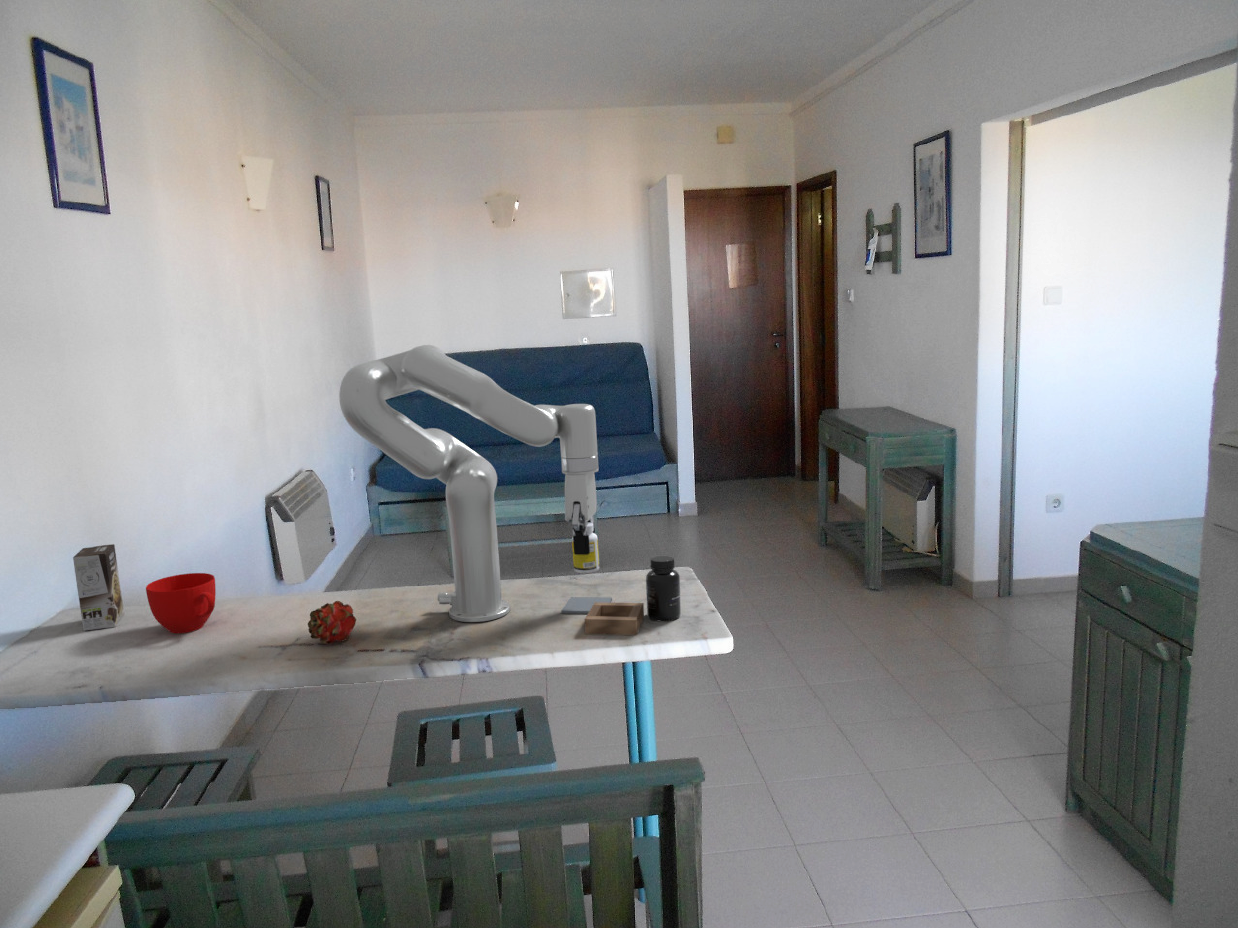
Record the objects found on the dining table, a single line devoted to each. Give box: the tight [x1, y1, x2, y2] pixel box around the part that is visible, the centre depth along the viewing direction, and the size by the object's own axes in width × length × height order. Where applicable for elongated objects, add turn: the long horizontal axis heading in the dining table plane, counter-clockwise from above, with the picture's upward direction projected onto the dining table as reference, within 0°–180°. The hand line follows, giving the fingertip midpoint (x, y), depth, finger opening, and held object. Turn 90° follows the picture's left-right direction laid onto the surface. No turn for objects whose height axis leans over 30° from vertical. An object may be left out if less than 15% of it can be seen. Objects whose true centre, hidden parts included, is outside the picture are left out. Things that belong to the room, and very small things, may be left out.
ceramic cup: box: [145, 572, 217, 634], centre depth 188 cm, size 13×17×10 cm
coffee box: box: [72, 543, 125, 632], centre depth 194 cm, size 9×6×16 cm
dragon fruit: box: [307, 600, 357, 646], centre depth 178 cm, size 8×8×12 cm
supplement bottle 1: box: [571, 522, 600, 574], centre depth 190 cm, size 5×5×10 cm
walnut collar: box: [584, 602, 645, 636], centre depth 179 cm, size 10×10×3 cm
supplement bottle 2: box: [645, 555, 682, 622], centre depth 183 cm, size 7×7×12 cm
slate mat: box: [560, 596, 613, 615], centre depth 192 cm, size 9×9×1 cm
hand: (585, 549), depth 190 cm, fingers closed on supplement bottle 1, 5 cm apart
